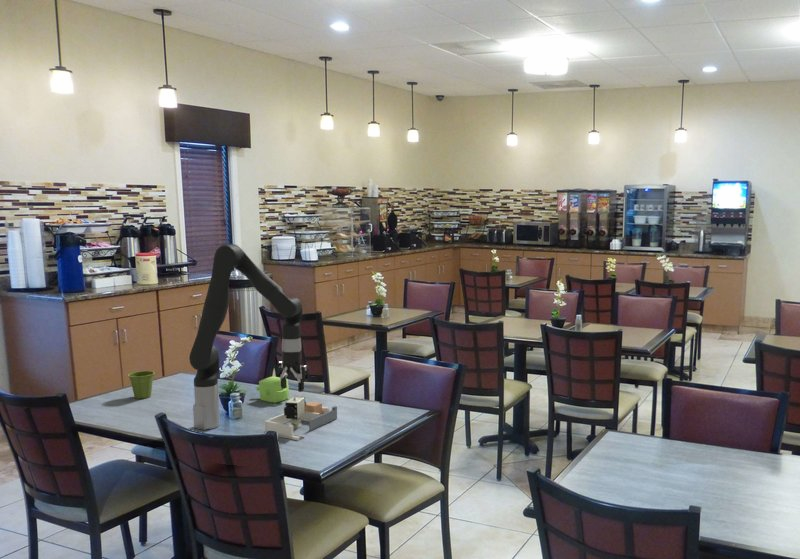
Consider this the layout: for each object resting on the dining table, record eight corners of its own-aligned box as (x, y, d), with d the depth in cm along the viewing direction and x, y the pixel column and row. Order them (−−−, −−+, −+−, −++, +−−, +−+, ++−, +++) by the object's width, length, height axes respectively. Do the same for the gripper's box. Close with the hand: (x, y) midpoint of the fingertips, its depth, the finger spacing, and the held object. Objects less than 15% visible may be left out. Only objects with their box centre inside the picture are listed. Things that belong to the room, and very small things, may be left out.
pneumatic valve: (307, 422, 275) (306, 393, 274) (296, 432, 264) (295, 401, 262) (294, 421, 276) (293, 392, 275) (282, 431, 265) (281, 401, 264)
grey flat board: (311, 430, 265) (310, 417, 264) (308, 430, 266) (308, 417, 265) (337, 418, 279) (337, 406, 279) (335, 418, 280) (334, 406, 279)
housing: (298, 440, 258) (297, 427, 257) (265, 433, 266) (264, 421, 266) (339, 421, 280) (338, 409, 279) (307, 415, 288) (306, 403, 288)
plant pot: (161, 394, 326) (159, 371, 324) (146, 401, 314) (145, 377, 313) (139, 393, 328) (137, 370, 327) (123, 400, 317) (122, 376, 316)
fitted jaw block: (314, 420, 277) (314, 406, 277) (305, 418, 280) (304, 404, 279) (322, 417, 281) (321, 403, 281) (312, 415, 284) (312, 401, 283)
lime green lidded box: (250, 400, 315) (248, 380, 314) (266, 394, 323) (265, 374, 321) (278, 405, 304) (276, 384, 303) (293, 399, 312) (292, 379, 311)
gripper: (271, 349, 267) (272, 389, 269) (299, 353, 260) (300, 394, 262) (284, 345, 273) (284, 385, 275) (312, 349, 266) (312, 390, 268)
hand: (292, 389), depth 268 cm, fingers open, 8 cm apart
